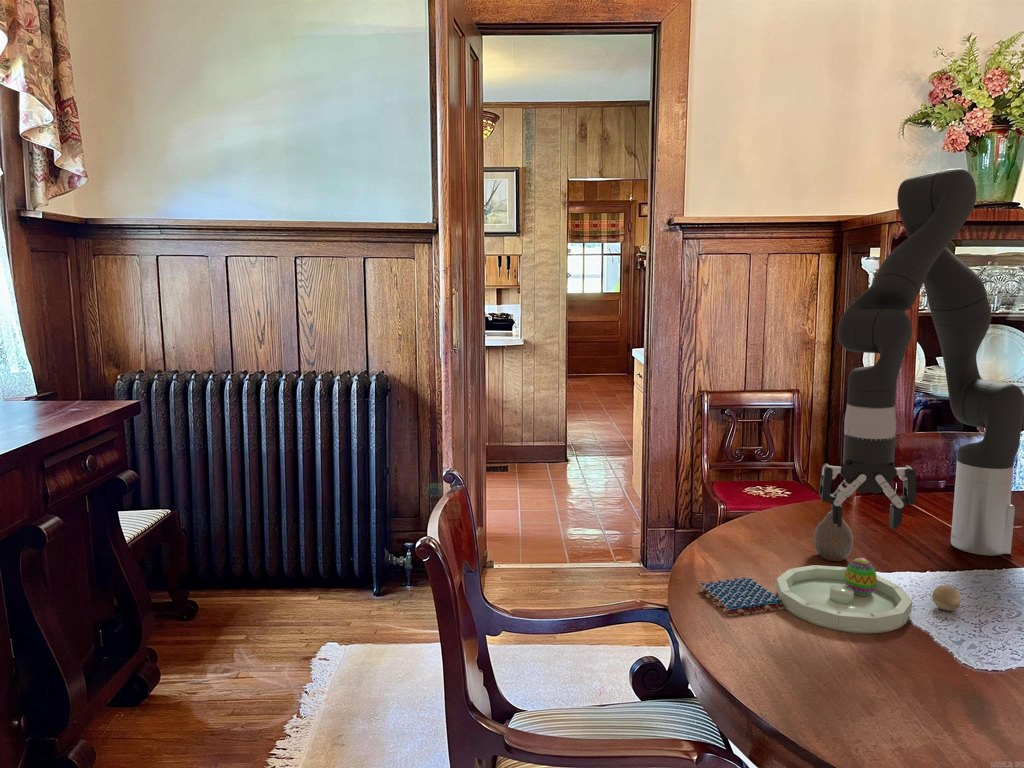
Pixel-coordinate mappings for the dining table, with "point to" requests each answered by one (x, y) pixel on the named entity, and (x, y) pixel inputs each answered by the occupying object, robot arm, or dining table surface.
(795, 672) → the dining table surface
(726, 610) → the woven mat
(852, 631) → the groove dish
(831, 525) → the vase
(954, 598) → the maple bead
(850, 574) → the egg
